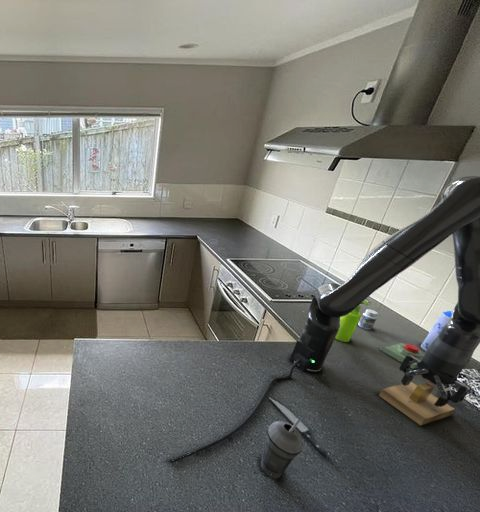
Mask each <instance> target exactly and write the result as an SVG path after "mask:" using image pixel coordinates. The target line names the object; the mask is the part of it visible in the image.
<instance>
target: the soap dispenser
mask: <svg viewBox="0 0 480 512" xmlns="http://www.w3.org/2000/svg"><path fill="white" fill-rule="evenodd" d="M361 304H364V305H365V306H371V305H372V304H371V303H370V302H368V301H367V300H366V299H365V300H364V301H363V302H362V303H361ZM361 309H362V307H361V305H359V306H358V307H356V308H355V309H354V310H353V311H352V312H351V313H349V314H347V315H345V316H342V317H340V328H339V331H338V333H337V335H336V337H335V339H336V340H337V341H339V342H343V343H348V342H350V340H351V339H352V336H353V334H354V332H355V331H356V328H357V326H358V323H359V321H360V319H361V317H362V314H361V312H360V310H361Z"/></svg>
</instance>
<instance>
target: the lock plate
mask: <svg viewBox="0 0 480 512" xmlns="http://www.w3.org/2000/svg"><path fill="white" fill-rule="evenodd" d="M417 385H418V384H416V383H414V382H412V381H411V382H410V384H409V385H407V386H404V385H402V383H399V384H397V385H392V386H389V387H386V388H382V389H381V391H380V393H379V394H378V396H379V397H380V398H381V399H382V400H384V401H386V402H387V403H388V404H390V405H391V406H393V408H395V409H397V410H398V411H400V412H401V413H402V414H404V415H405V416H407V417H408V418H409V419H411V420H412V421H414V422H415V423H416V424H417V425H419V426H423V425H426V424H430V423H432V422H435V421H438V420H441V419H445V418H447V417H450V416H452V414H453V413H454V411H455V410H456V408H454V407H453V406H451V405H450V404H448V403H447V404H446V405H445V406H442V407H440V406H439V407H437V406H435V405H434V404H435V403H436V401H437V400H438V398H439V397H436V395H433V394H432V393H431V394H430V395H429V396H428V398H427V399H426V400H423V401H419V402H415V401H413V400H412V399H410V398H409V397H410V396H411V394H412V393H413V391H414V390H415V388H416V387H417Z"/></svg>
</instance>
